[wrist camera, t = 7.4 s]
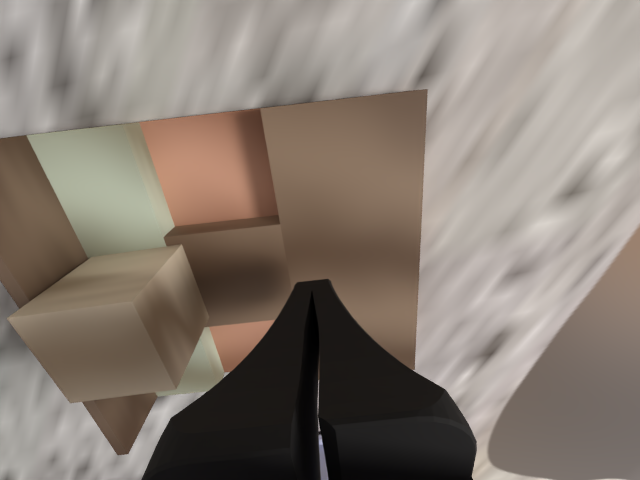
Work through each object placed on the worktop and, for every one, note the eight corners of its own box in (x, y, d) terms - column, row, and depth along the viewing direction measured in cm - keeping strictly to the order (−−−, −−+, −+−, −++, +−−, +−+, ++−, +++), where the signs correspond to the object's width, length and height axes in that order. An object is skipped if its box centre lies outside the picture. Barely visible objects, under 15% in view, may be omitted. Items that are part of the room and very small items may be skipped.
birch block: (209, 317, 14) (176, 389, 11) (129, 327, 15) (70, 402, 11) (181, 244, 13) (132, 301, 9) (91, 257, 13) (6, 318, 9)
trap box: (406, 349, 18) (435, 422, 14) (160, 375, 18) (117, 455, 14) (413, 90, 12) (469, 85, 8) (46, 132, 12) (-88, 149, 8)
